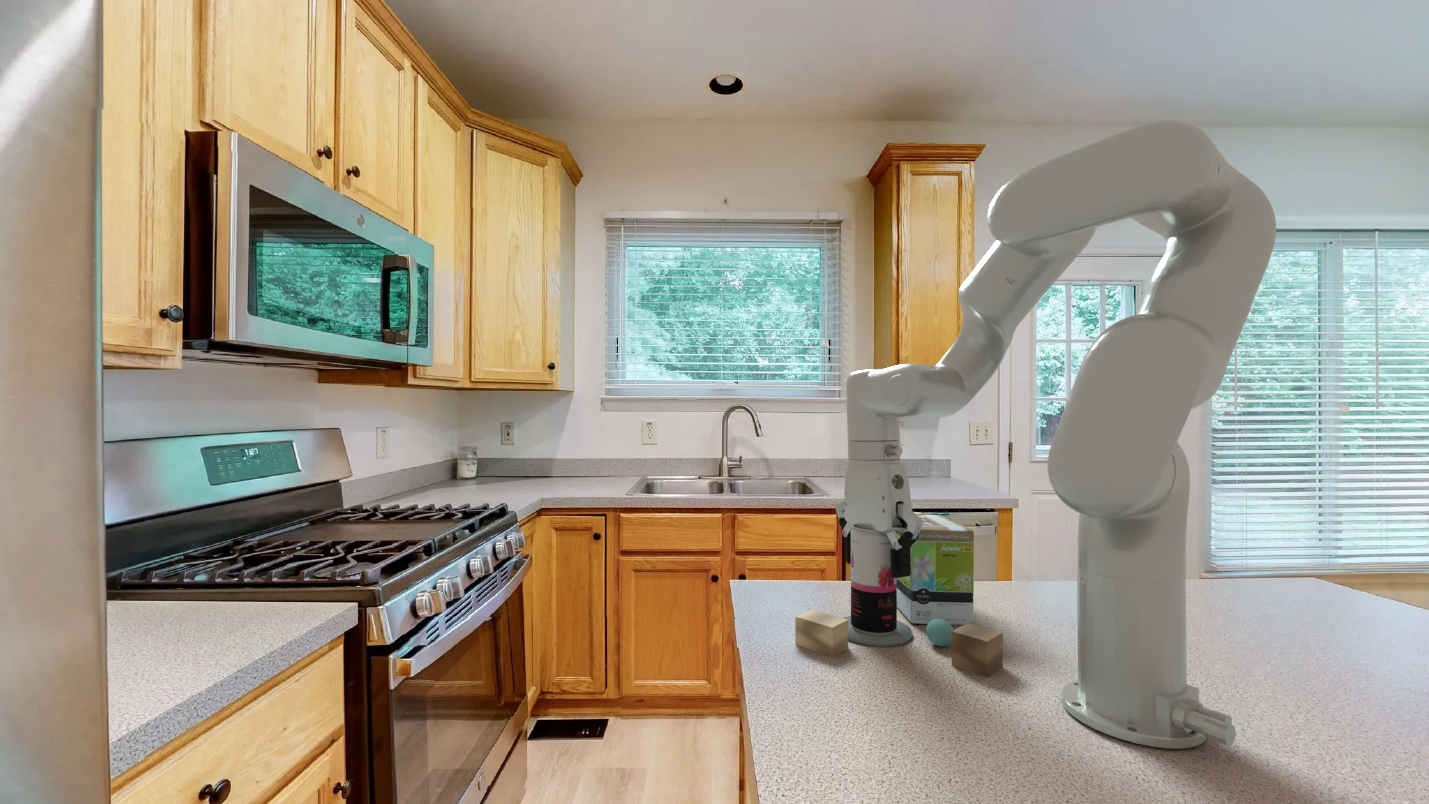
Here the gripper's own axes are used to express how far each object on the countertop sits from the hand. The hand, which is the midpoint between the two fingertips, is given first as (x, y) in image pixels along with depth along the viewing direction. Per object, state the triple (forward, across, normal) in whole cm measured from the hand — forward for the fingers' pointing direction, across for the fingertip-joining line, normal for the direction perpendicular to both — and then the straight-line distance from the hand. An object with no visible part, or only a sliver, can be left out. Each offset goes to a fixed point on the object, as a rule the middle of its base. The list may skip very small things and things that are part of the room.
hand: (877, 569), depth 86 cm
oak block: (+10, 0, +10) cm, 14 cm away
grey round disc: (+9, +1, 0) cm, 9 cm away
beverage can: (+9, +1, 0) cm, 9 cm away
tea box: (+10, +5, -15) cm, 18 cm away
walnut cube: (+10, -14, -4) cm, 18 cm away
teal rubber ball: (+8, -7, -5) cm, 12 cm away
